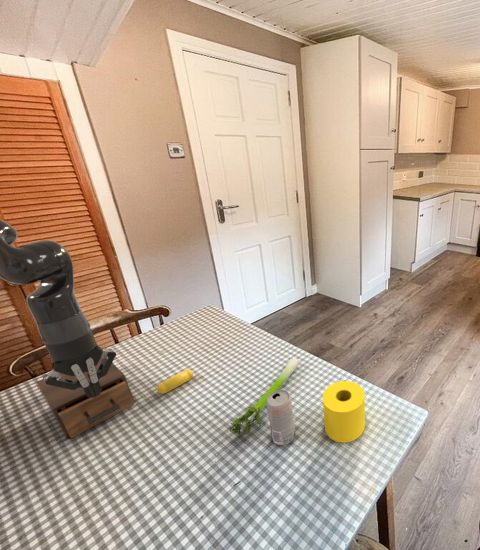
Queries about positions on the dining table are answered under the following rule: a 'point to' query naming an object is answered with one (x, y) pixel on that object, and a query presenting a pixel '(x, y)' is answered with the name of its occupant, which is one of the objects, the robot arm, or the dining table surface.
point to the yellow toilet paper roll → (344, 411)
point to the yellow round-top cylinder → (174, 381)
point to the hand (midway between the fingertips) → (95, 395)
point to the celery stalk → (263, 400)
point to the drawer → (95, 408)
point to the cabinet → (75, 391)
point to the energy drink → (281, 417)
